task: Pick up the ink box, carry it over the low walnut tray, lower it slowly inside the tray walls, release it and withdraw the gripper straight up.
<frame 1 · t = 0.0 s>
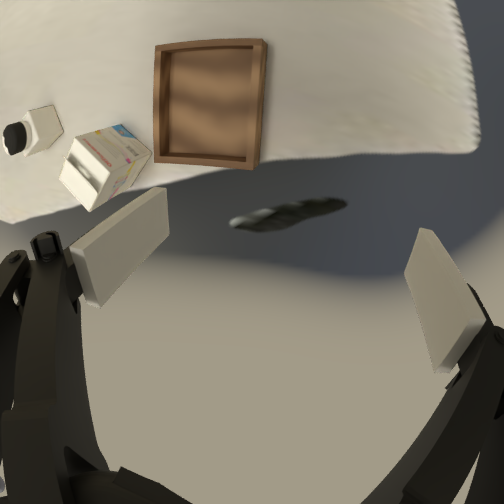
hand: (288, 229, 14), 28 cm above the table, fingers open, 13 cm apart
walnut tray: (211, 101, 37), on the table
medicine bottle: (51, 126, 44), on the table
ink box: (126, 155, 44), on the table
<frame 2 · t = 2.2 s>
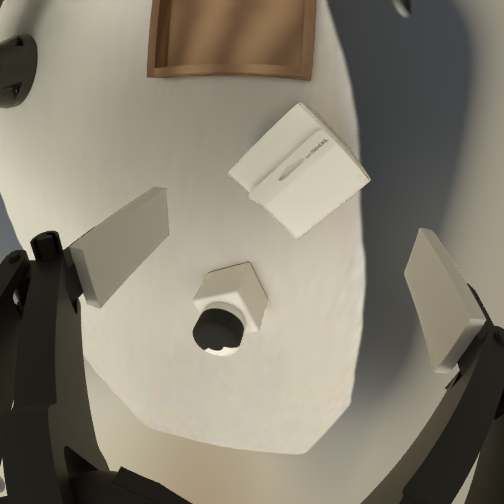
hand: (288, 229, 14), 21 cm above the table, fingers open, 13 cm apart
walnut tray: (236, 18, 24), on the table
medicine bottle: (238, 285, 44), on the table
ink box: (304, 150, 32), on the table
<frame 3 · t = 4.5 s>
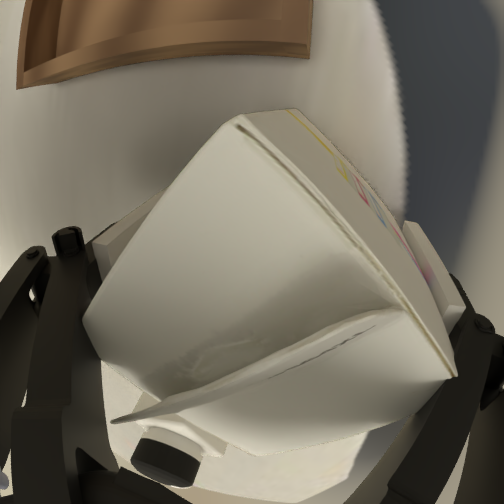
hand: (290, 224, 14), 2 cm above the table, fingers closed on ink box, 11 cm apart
medicine bottle: (199, 383, 28), on the table
ink box: (294, 207, 16), on the table, touching gripper
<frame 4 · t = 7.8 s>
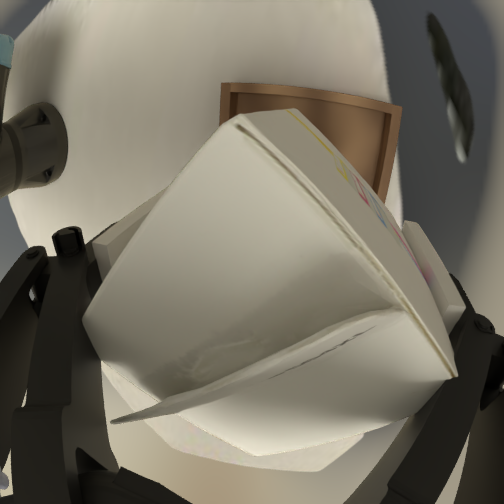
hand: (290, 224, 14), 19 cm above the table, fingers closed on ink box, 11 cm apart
walnut tray: (306, 154, 31), on the table
ink box: (294, 207, 16), point 17 cm above the table, touching gripper
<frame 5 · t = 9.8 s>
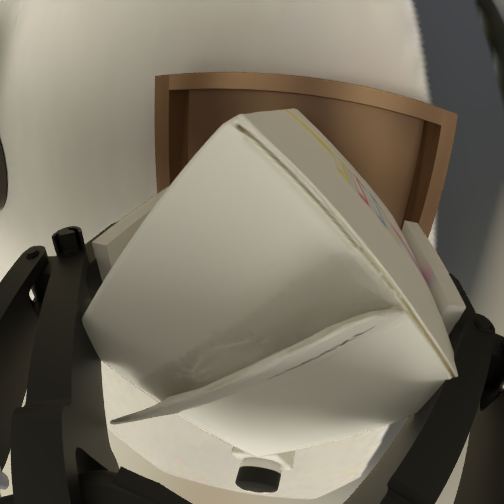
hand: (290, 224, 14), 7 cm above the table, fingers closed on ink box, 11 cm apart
walnut tray: (297, 184, 20), on the table
medicine bottle: (271, 423, 39), on the table
ink box: (294, 207, 16), point 5 cm above the table, touching gripper
when the fingers open (5 cm above the table, at t = 11.4 s): ink box drops 1 cm, resting on walnut tray.
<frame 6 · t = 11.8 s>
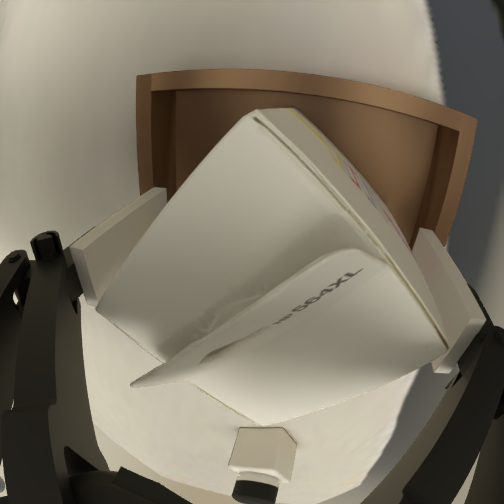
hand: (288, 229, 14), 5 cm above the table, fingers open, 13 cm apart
walnut tray: (297, 195, 18), on the table
medicine bottle: (269, 435, 37), on the table
ink box: (295, 198, 18), point 1 cm above the table, touching walnut tray
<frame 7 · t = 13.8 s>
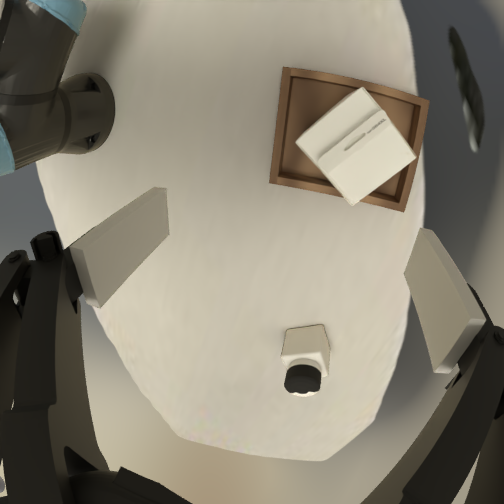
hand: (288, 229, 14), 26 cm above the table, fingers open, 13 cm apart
walnut tray: (347, 135, 34), on the table
medicine bottle: (309, 338, 53), on the table
ink box: (347, 135, 33), point 1 cm above the table, touching walnut tray
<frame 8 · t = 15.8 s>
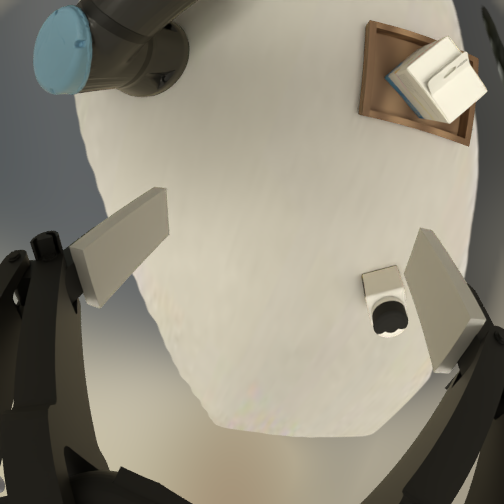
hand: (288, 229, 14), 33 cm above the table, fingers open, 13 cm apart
walnut tray: (417, 83, 32), on the table
medicine bottle: (381, 283, 51), on the table
ink box: (418, 82, 32), point 1 cm above the table, touching walnut tray
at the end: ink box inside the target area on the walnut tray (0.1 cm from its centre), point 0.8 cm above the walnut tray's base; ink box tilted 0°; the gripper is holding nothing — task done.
